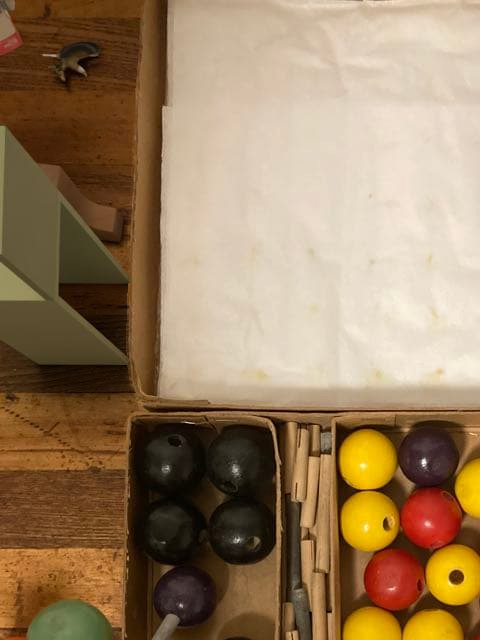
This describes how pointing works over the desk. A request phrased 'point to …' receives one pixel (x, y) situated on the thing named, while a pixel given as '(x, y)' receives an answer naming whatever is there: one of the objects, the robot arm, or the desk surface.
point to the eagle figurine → (73, 57)
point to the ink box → (8, 33)
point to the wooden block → (86, 206)
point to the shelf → (47, 267)
